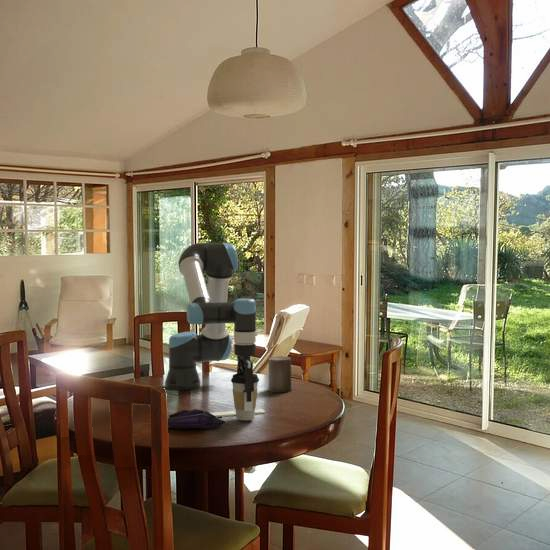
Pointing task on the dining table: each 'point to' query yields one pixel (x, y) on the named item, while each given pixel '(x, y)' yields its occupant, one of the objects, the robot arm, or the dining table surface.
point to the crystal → (194, 420)
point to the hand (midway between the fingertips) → (245, 406)
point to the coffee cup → (239, 396)
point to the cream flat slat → (232, 413)
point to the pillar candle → (279, 374)
